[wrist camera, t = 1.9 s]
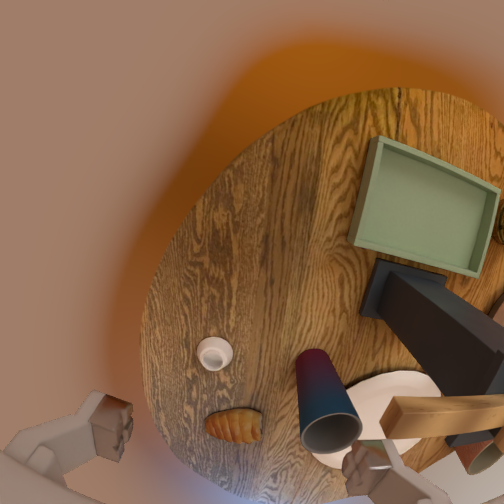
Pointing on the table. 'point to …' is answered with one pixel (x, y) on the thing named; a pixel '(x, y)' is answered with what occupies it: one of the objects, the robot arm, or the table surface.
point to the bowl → (498, 311)
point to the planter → (478, 456)
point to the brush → (444, 416)
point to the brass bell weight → (499, 223)
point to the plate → (382, 406)
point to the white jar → (214, 353)
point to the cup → (324, 405)
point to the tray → (423, 209)
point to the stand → (439, 333)
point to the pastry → (235, 425)
